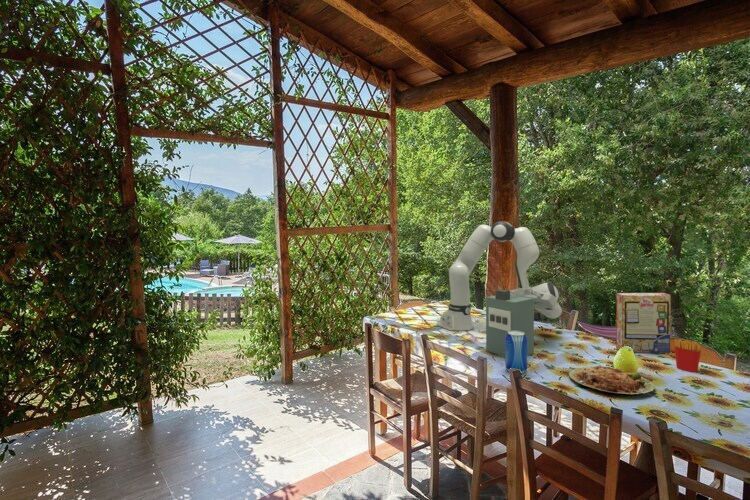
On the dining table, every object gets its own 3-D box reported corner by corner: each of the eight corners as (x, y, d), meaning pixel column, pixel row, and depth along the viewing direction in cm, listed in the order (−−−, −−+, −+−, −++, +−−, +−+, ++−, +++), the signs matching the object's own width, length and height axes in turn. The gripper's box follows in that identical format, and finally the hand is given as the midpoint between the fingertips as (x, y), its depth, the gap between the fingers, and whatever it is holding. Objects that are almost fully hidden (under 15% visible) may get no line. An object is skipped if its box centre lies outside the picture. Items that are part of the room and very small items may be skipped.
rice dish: (568, 367, 163) (567, 355, 163) (646, 374, 151) (646, 361, 151) (569, 394, 138) (569, 380, 138) (663, 405, 126) (663, 389, 126)
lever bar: (495, 298, 177) (495, 290, 177) (524, 293, 189) (524, 285, 189) (504, 300, 173) (504, 291, 173) (533, 294, 185) (533, 286, 185)
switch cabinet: (484, 351, 182) (483, 297, 181) (505, 344, 191) (504, 293, 189) (512, 360, 169) (512, 302, 167) (533, 353, 178) (533, 298, 176)
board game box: (663, 349, 179) (664, 292, 177) (670, 354, 173) (672, 295, 171) (615, 348, 182) (616, 292, 180) (621, 352, 176) (622, 294, 174)
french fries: (701, 371, 152) (702, 342, 151) (697, 374, 150) (698, 344, 149) (675, 365, 159) (676, 337, 159) (671, 367, 157) (672, 338, 156)
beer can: (528, 375, 153) (529, 336, 152) (506, 374, 155) (506, 335, 153) (525, 367, 161) (525, 330, 160) (504, 366, 163) (504, 329, 162)
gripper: (524, 292, 202) (509, 282, 195) (561, 298, 185) (546, 287, 178) (520, 303, 200) (505, 293, 193) (557, 310, 183) (542, 299, 176)
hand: (525, 290), depth 185 cm, fingers open, 6 cm apart
